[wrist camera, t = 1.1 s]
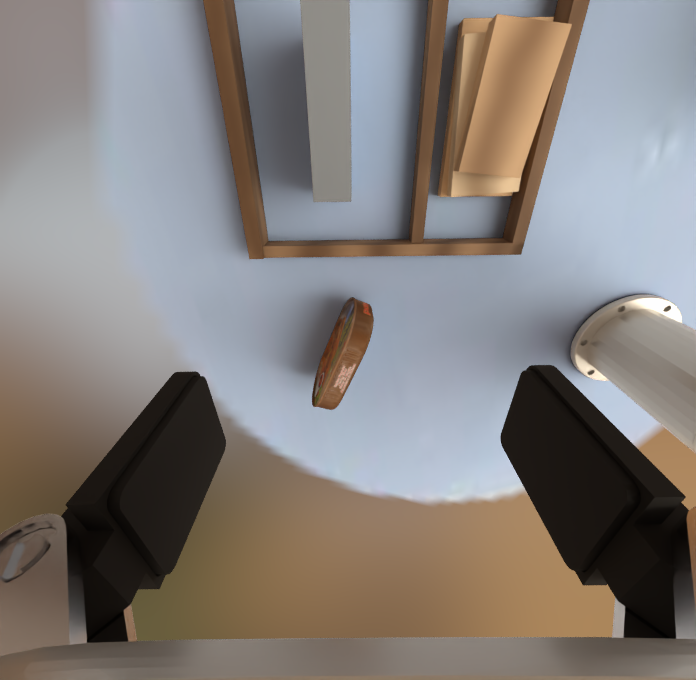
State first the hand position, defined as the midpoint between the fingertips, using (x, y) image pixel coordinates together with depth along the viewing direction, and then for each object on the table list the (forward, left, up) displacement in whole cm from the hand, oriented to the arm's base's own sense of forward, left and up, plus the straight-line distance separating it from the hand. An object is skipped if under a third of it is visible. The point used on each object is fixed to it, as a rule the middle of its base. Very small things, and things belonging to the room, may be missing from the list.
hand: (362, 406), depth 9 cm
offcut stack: (-12, -10, -29) cm, 33 cm away
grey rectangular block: (+2, -10, -29) cm, 30 cm away
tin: (+2, +14, -29) cm, 32 cm away
